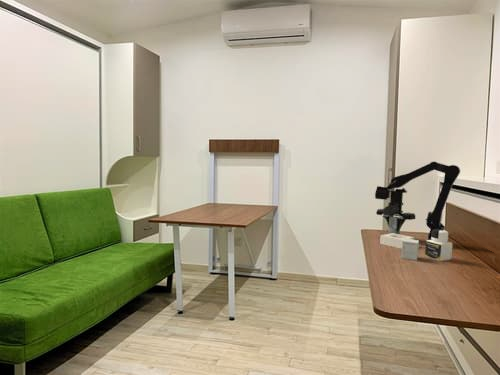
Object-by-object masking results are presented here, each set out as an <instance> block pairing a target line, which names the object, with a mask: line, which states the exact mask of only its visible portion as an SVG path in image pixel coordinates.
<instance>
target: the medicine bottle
mask: <svg viewBox="0 0 500 375" xmlns="http://www.w3.org/2000/svg"><path fill="white" fill-rule="evenodd" d="M431 239H432V240H428V239H427V240H425V250H424V257H425V258H429V259H432V260H434V261H438V262H442V261H450V260H452V255H453V254H452V253H453V252H452V251H453V243H452V242H450V241H449V232H448V231H447V230H446V229H445V230H441V229H434V230H432V235H431Z"/></svg>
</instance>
